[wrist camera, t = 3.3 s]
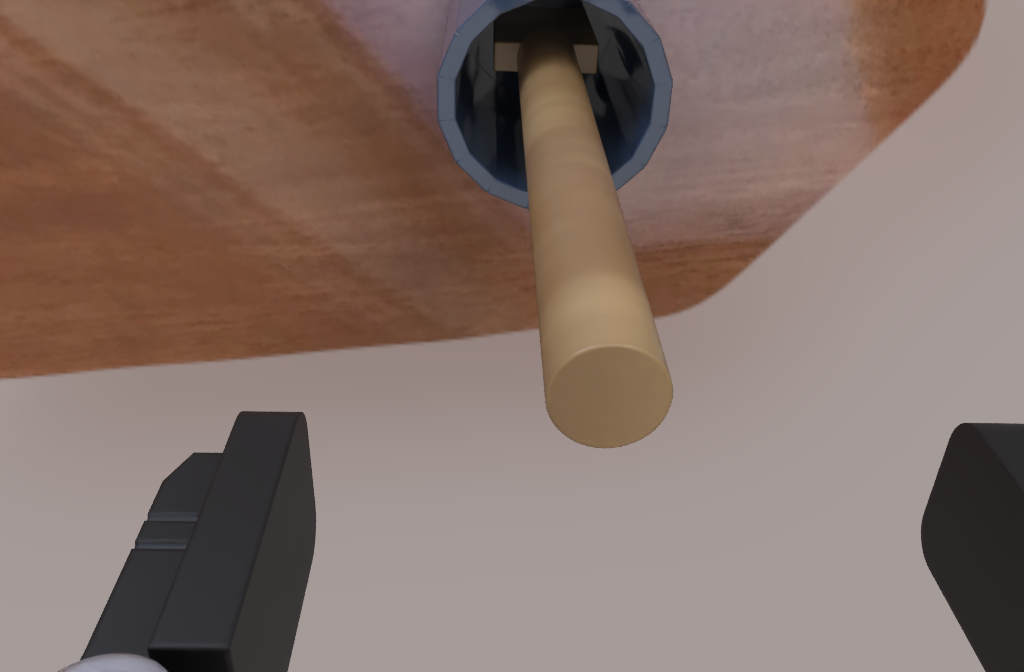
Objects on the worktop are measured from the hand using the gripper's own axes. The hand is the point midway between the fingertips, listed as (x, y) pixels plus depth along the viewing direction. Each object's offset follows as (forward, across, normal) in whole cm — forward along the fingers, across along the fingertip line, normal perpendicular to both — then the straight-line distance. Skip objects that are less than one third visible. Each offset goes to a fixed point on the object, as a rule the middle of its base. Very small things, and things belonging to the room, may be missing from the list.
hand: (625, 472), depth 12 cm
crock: (+25, 0, 0) cm, 25 cm away
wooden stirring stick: (+25, 0, 0) cm, 25 cm away
